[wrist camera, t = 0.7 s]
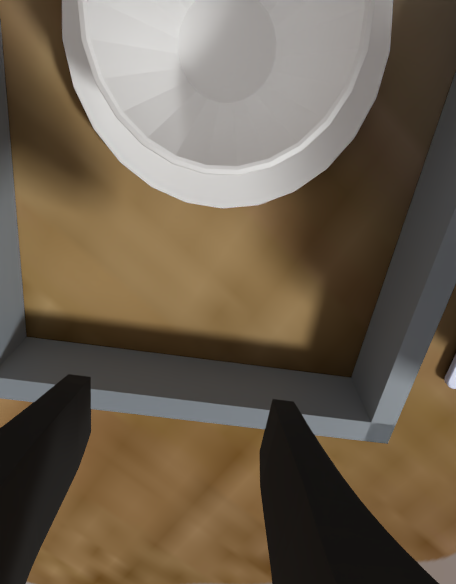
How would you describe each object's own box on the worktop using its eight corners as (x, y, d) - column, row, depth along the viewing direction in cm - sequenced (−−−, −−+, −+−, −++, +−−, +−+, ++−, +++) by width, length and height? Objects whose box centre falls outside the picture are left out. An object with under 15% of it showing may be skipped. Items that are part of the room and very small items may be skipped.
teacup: (435, 73, 16) (524, 57, 11) (210, 252, 19) (203, 299, 14) (253, -271, 12) (268, -526, 7) (10, 26, 15) (-91, -14, 10)
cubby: (576, -175, 13) (691, -270, 10) (365, 396, 23) (387, 443, 19) (-68, -310, 12) (-180, -468, 8) (6, 352, 22) (-34, 394, 18)
